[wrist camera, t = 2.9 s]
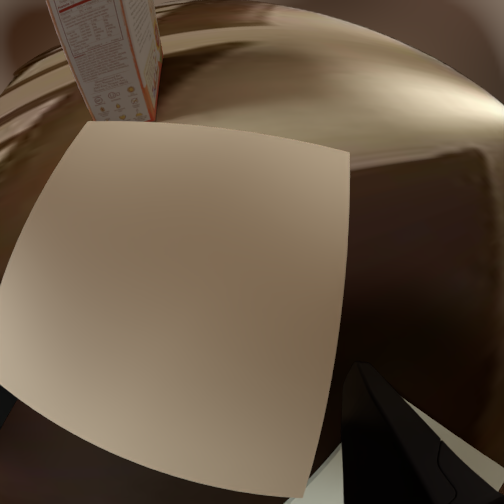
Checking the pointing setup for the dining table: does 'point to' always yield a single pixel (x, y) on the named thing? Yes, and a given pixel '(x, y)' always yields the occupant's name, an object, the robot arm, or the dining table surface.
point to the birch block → (183, 299)
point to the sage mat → (331, 471)
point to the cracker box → (112, 55)
